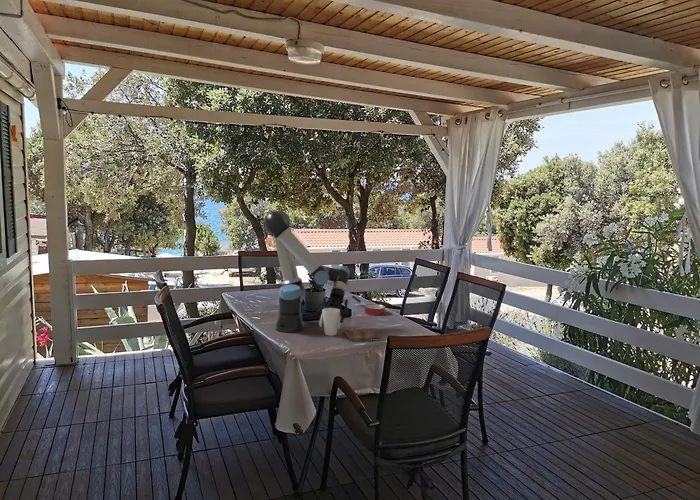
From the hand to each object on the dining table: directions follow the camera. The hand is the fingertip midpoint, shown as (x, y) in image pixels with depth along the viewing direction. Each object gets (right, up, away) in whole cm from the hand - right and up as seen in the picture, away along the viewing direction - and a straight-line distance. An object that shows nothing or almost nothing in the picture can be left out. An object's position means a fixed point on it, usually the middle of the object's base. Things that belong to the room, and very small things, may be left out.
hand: (329, 326), depth 255 cm
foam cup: (+1, -5, +4) cm, 6 cm away
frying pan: (+21, +1, +60) cm, 64 cm away
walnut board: (+17, -5, +1) cm, 18 cm away
